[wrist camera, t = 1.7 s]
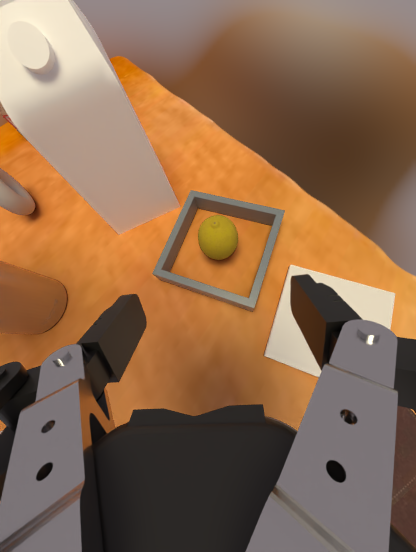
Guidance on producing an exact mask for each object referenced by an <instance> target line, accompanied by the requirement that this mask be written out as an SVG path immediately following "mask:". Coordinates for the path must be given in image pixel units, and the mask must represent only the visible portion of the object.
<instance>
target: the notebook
mask: <svg viewBox="0 0 416 552" xmlns="http://www.w3.org/2000/svg"><path fill="white" fill-rule="evenodd" d="M390 522H391V523H392V524H393V525H394V526H395V527H396V528H397V529H398V530H399V531H400V532H401V533H402V534H403V535H404V536H405V537H406V538H407V539H408V540H409V541H410V542H411V543H412V544H413V545H414V546H415V547H416V415H415V414H414V412H413V411H412V410H411V409H410V408H405V407H401V406H397V421H396V437H395V454H394V470H393V487H392V503H391V520H390Z"/></svg>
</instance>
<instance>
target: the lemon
mask: <svg viewBox="0 0 416 552" xmlns="http://www.w3.org/2000/svg"><path fill="white" fill-rule="evenodd" d="M198 241H199V245H200V248H201V250H202V251H203V252H204V254H205V255H207V256H208V257H209V258H212V259H216V260H222V259H225V258H227V257H229V256H230V255H232V253H233V252H234V251H235V249H236V247H237V243H238V233H237V230H236V227H235V225H234V224H233V223H232V221H231V220H229V219H228V218H226V217H224V216H220V215H215V216H211V217H209V218H207V219H206V220H205V221H204V222H203V223H202V224H201V226H200V228H199V233H198Z"/></svg>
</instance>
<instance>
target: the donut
mask: <svg viewBox="0 0 416 552" xmlns="http://www.w3.org/2000/svg"><path fill="white" fill-rule="evenodd" d="M0 206H1V207H3V208H4V209H6V210H8V211H10V212H12V213H15V214H18V215H29V214H31V213H32V212H33V211H34V209H35V203H34V200H33V199H32V197H31V196H30V194H29V193H28V192H27V191H26V190H25V189H24V188H23V187H22V186H21V185H20V184H19V183H18V182H17V181H16V180H15V179H14V178H13V177H11V176H10V175H9V174H8V173H6V172H5V171H4V170H2V169H1V168H0Z"/></svg>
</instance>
